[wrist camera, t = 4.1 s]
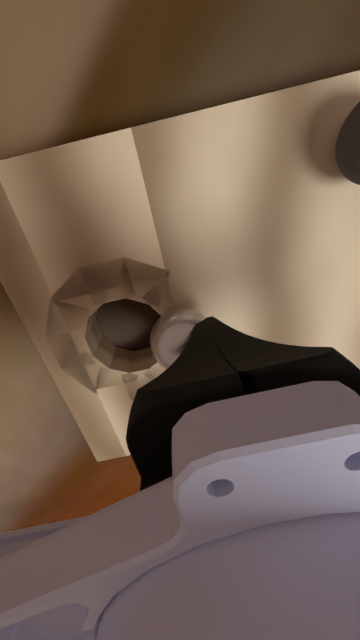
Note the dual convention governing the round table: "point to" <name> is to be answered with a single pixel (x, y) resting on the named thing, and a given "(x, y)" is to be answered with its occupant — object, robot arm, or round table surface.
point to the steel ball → (172, 334)
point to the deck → (184, 239)
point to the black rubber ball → (349, 147)
